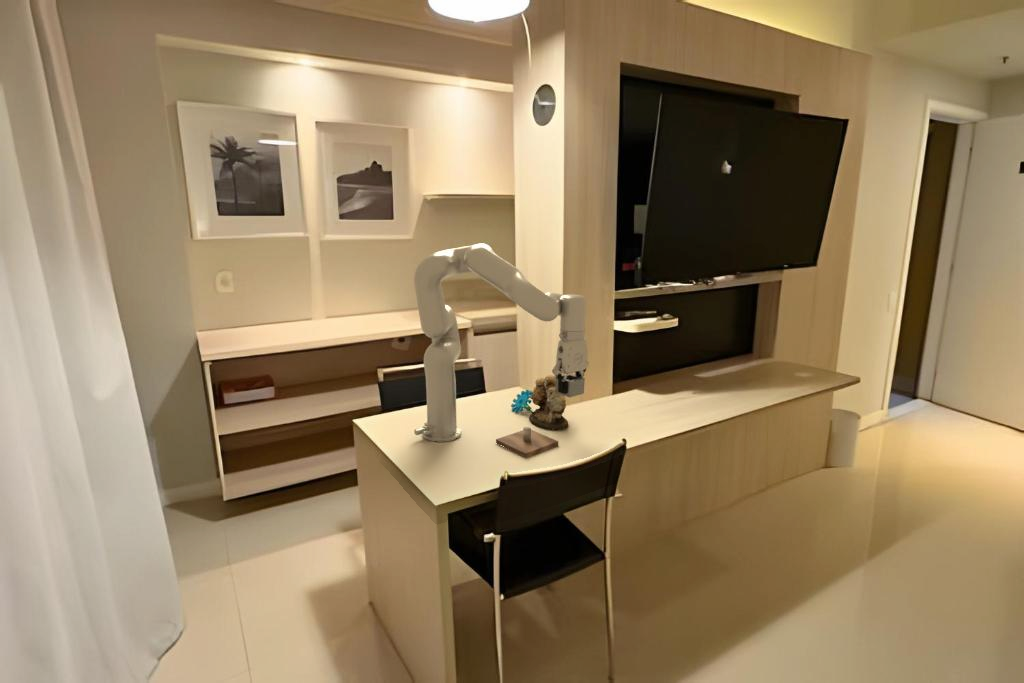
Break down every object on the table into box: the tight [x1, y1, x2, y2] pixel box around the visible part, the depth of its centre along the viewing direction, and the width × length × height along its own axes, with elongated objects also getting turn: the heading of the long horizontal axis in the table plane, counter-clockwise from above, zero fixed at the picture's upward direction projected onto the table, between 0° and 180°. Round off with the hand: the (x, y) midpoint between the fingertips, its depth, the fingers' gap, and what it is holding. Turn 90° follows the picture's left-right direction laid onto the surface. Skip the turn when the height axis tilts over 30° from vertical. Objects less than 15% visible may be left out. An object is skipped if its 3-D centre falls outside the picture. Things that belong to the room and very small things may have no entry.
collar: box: [555, 373, 586, 398], centre depth 174 cm, size 6×6×5 cm
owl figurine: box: [528, 374, 569, 431], centre depth 194 cm, size 18×12×17 cm, turn 34°
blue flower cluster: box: [510, 389, 534, 414], centre depth 206 cm, size 11×6×10 cm
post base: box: [495, 426, 559, 459], centre depth 175 cm, size 14×14×6 cm
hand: (570, 390), depth 175 cm, fingers closed on collar, 6 cm apart
